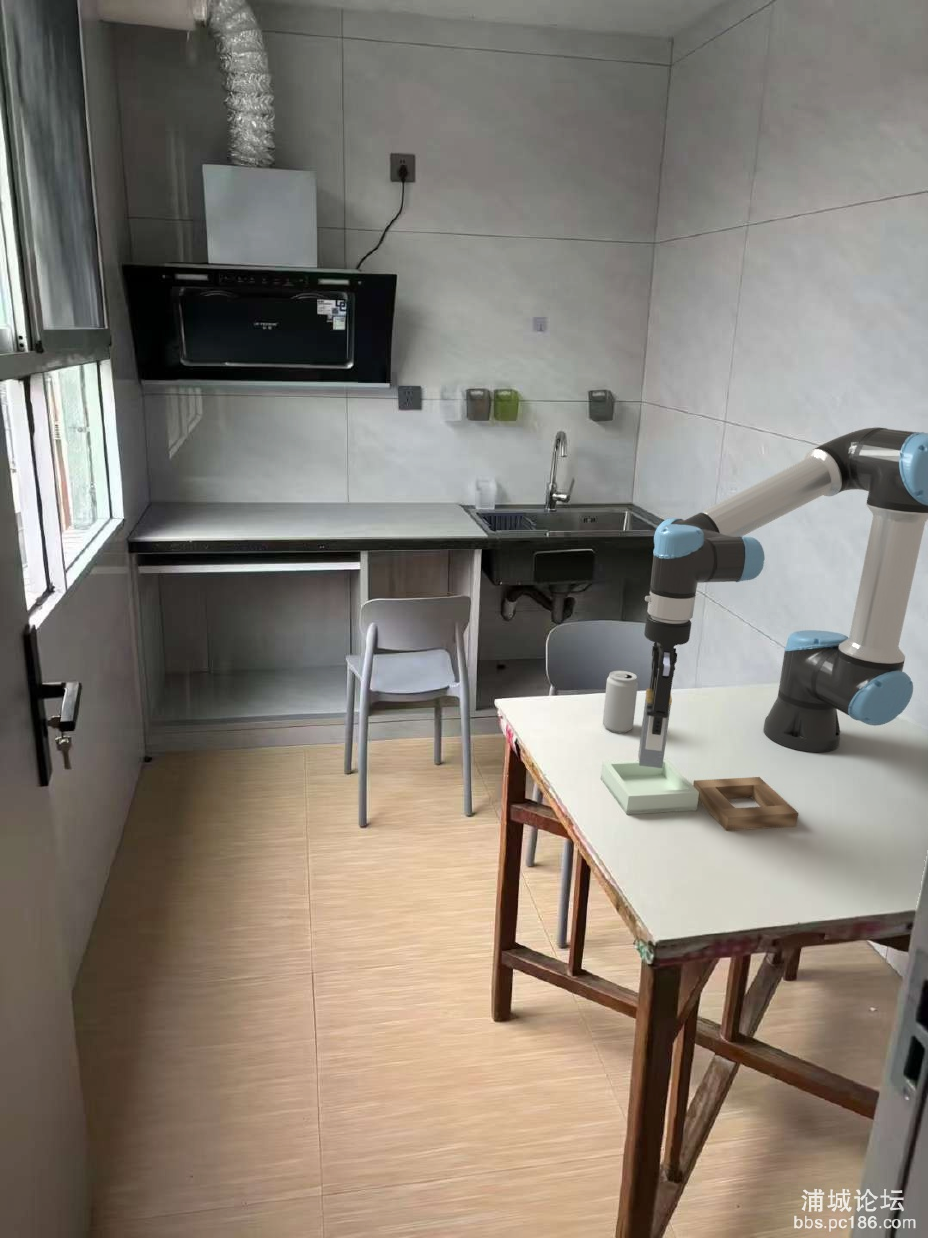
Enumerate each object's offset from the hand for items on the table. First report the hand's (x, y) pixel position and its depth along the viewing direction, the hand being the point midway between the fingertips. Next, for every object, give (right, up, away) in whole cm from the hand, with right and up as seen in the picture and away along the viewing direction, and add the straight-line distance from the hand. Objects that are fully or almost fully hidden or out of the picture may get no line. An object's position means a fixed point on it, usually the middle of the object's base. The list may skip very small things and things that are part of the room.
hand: (652, 743), depth 153 cm
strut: (0, -3, +1) cm, 4 cm away
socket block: (+16, -11, 0) cm, 19 cm away
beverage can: (-1, -1, +30) cm, 30 cm away
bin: (0, -10, +3) cm, 10 cm away
